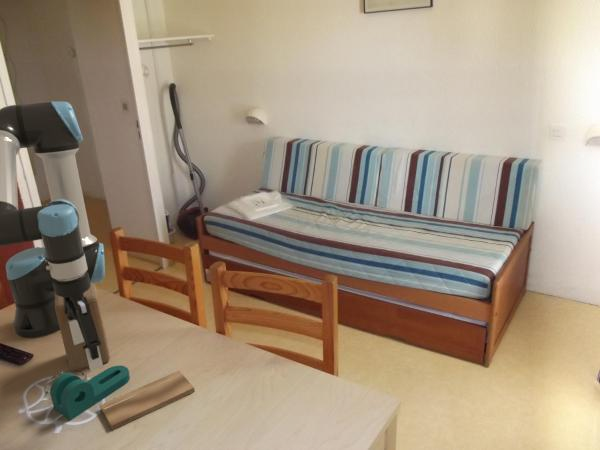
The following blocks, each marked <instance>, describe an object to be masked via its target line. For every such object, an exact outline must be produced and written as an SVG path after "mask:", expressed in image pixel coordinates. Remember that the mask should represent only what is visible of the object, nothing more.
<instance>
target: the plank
mask: <svg viewBox="0 0 600 450" xmlns="http://www.w3.org/2000/svg"><path fill="white" fill-rule="evenodd" d="M194 392H195V387H194V386H193V384H192V383H190V381H189V380H188V379H187V378H186V377H185V375H184V374H183V373H182V372H181V371H180V370H177V371H175V372H173V373H171V374H168V375H166V376H164V377H161V378H159V379H156V380H154V381H152V382H150V383H148V384H147V383H146V384H145V385H143V386H141V387H138V388H136V389H134V390H131V391H129V392H127V393H125V394H122V395H120V396H118V397H115V398H113V399H110V400H109V401H106V402H104V403H102V404H100V405H99V407H100V411H101V412H102V414H103V416H104V418H105V419H106V421H107V423H108V424H109V426H110V428H111V431H113V430H115V429H118V428H120V427H122V426H124V425H126V424H129V423H131V422H133V421H135V420H138V419H140V418H141V417H143V416H146V415H148V414H150V413H152V412H153V411H156V410H158V409H161V408H163V407H165V406H167V405H170V404H171V403H173V402H176V401H177V400H179V399H182V398H184V397H186V396H188V395H190V394H192V393H194Z"/></svg>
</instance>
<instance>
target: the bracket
mask: <svg viewBox="0 0 600 450" xmlns="http://www.w3.org/2000/svg"><path fill="white" fill-rule="evenodd" d="M130 377H131V376H130V372H129V368H128V367H127V366H125V365H113V366H110V367H108V368H107V369H105V370H103V371H101V372H99V373H98V374H96V375H95V376H93V377H92V378H89V379H88V380H87V381H86V380H85V379H81V378H80V377H79V376H77V374H74V373H72V372H64V373H61V374H60V375H58V376H57V377H55V379H54V380H53V382H52V384H51V386H50V390H49V394H50V398H51V403H52V405H53V410H55V411H56V412H57V413H59V414H60V415H61V416H63V417H64V418H66V419H67V420H68V421H73V420H74V419H76V418H77V417H78V416H80V415H81V414H83V413H84V412H87V410H89V409H91V408H92V407H94V406H95V405H96V404H98V403H100V402H101V401H103V400H104V399H106V398H107V397H109V396H110V395H112V394H113V393H115V392H116V391H118V390H119V389H121V388H122V387H124V386H125V385H127V384H128V383H129V382H130V380H131V378H130Z"/></svg>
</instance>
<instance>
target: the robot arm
mask: <svg viewBox="0 0 600 450" xmlns="http://www.w3.org/2000/svg"><path fill="white" fill-rule="evenodd" d="M83 141H84V138H83V135H82V132H81V129H80V126H79V123H78V119H77V116H76V113H75V111H74V108H73V106H72V105H71V104H70V103H69V101H49V102H47V101H46V102H37V103H26V104H13V105H7V106H4V107H2V108H0V247H4V246H10V245H15V244H21V243H25V242H27V243H28V242H34V241H40V240H42V245H43V247H42V246H41V247H40V246H37V247H31V248H28V249H25V250H22V251H19V252H18V253H16V254H14V255H13V256H11V257H10V258H9V259H8V260H7V261H6V263H5V271H6V279H7V281H8V283H9V287H10V290H11V295H12V299H13V301H14V306H15V313H14V322H13V327H14V331H15V333H16V335H18V336H19V337H23V338H30V339H32V338H38V337H45V336H47V335H50V334H53V333H55V332H57V331H60V327H59V323H58V319H57V315H56V310H55V294H56V295H58V296H60V297H63V301H64V310H65V311H64V312H65V314H67V319H68V320H69V319H70V321H69V326H70V330H71V334H72V338H73V343H74V345H76V344H79V343H82V342H85V344H86V345H85V346H83V349H85V350H86V354H87V359H88V363H89V367H88V368H89V371H90V372H94V371H97V370H100V369H101V368H104V365H103V364H104V363H102V359H101V354H100V350H99V345H101V342H100V340H99V337H98V334H97V331H96V328H95V324H94V321H93V318H92V315H91V311H90V307H89V303H88V302H87V299H86V297H84V296H83V293H84V292H86V291H87V290H88V289H89V288H90V286H91V283H94V284H96V283H100V282H102V281H103V280H105V276H106V267H105V266H106V262H105V249H104V247H105V246H104V244H103V243H102V242H98V238H97V237H96V236H95V235H93V234H91V231H90V229H91V228H90V225H89V219H88V214H87V210H86V204H85V199H84V194H83V189H82V184H81V179H80V174H79V169H78V163H77V160H76V154H77V153H78V151H79V150H80V144H79V143H82V142H83ZM26 148H27V149H28V148H33V149H34V150H33V151H34V154H35V155H36V156H38V157H39V158H40V159H41V160H42V164H43V168H44V173H45V177H46V182H47V188H48V194H49V196H50V202H48V203H46V204H45V205H40V206H38V205H37V206H34V207H28V208H27V207H26V208H25V207H24V208H19V197H18V195H19V194H18V171H17V155H18V154H19V153H20V150H21V149H26Z"/></svg>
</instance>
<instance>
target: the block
mask: <svg viewBox="0 0 600 450" xmlns="http://www.w3.org/2000/svg"><path fill="white" fill-rule="evenodd" d="M97 291H98V290H97V287H96V283H91V286H90V288H89V289H88V290H87V291H86V292H84V293H83V296H84V297H86V299H87V302H88V303H89V307H90V311H91V315H92V318H93V321H94V324H95V328H96V331H97V334H98V337H99V340H100V342H101V345H99V350H100V354H101V359H102V364H106V363H108V362H109V361H110V359H111V357H110V356H111V355H110V351H109V345H108V341H107V334H106V329H105V325H104V321H103V320H104V319H103V315H102V311H101V306H100V301H99V296H98V292H97ZM55 310H56V315H57V319H58V323H59V327H60V329H59V331H60V334H61V339H62V343H63V346H64V350H65V355H66V358H67V362H68V363H67V365H68V368H69V369H70V371H72V372H75V371H79V370H83V369H87V368H89V363H88V359H87V354H86V350H85V349H83V346H85V345H86V344H85V342H82V343H79V344H76V345H74V343H73V338H72V334H71V330H70V326H69V321H70V319H69V320H68V319H67V314H65V312H64V311H65V310H64V301H63V297H60V296H58V295H56V294H55Z"/></svg>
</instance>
